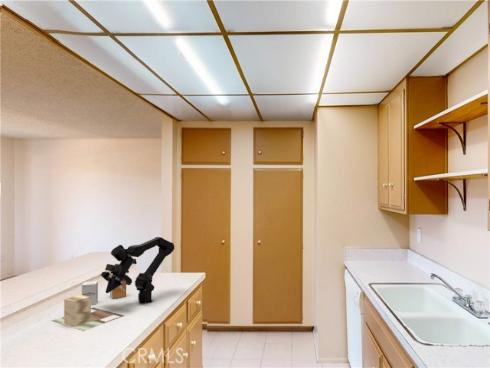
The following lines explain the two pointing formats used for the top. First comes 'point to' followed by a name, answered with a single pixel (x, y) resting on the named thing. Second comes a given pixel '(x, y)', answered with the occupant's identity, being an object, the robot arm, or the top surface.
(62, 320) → the lane board
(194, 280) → the top surface
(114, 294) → the small box
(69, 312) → the birch block
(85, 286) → the supplement box
